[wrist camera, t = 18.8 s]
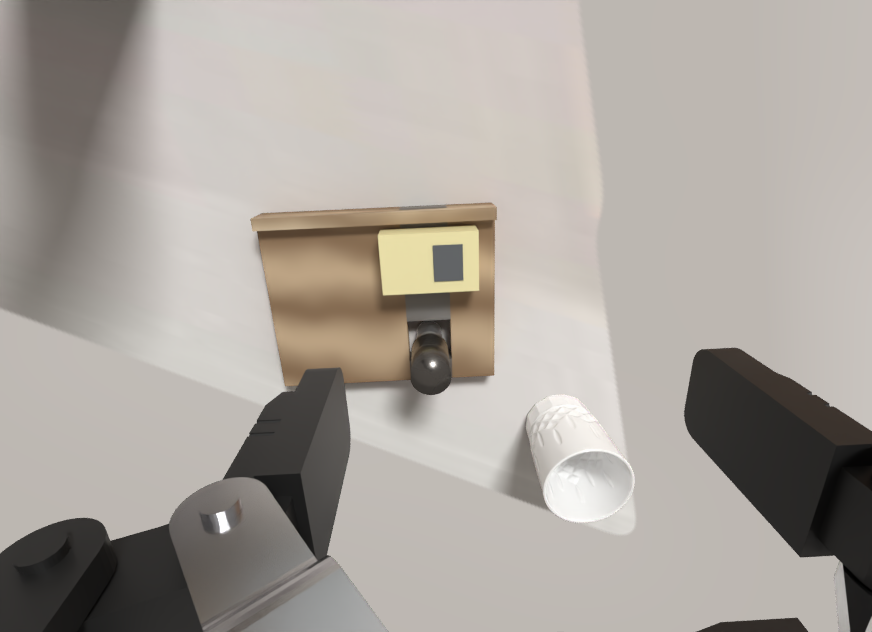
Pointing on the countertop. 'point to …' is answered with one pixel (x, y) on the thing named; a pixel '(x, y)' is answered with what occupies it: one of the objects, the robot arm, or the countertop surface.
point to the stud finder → (429, 260)
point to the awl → (430, 360)
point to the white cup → (577, 461)
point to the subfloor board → (368, 293)
